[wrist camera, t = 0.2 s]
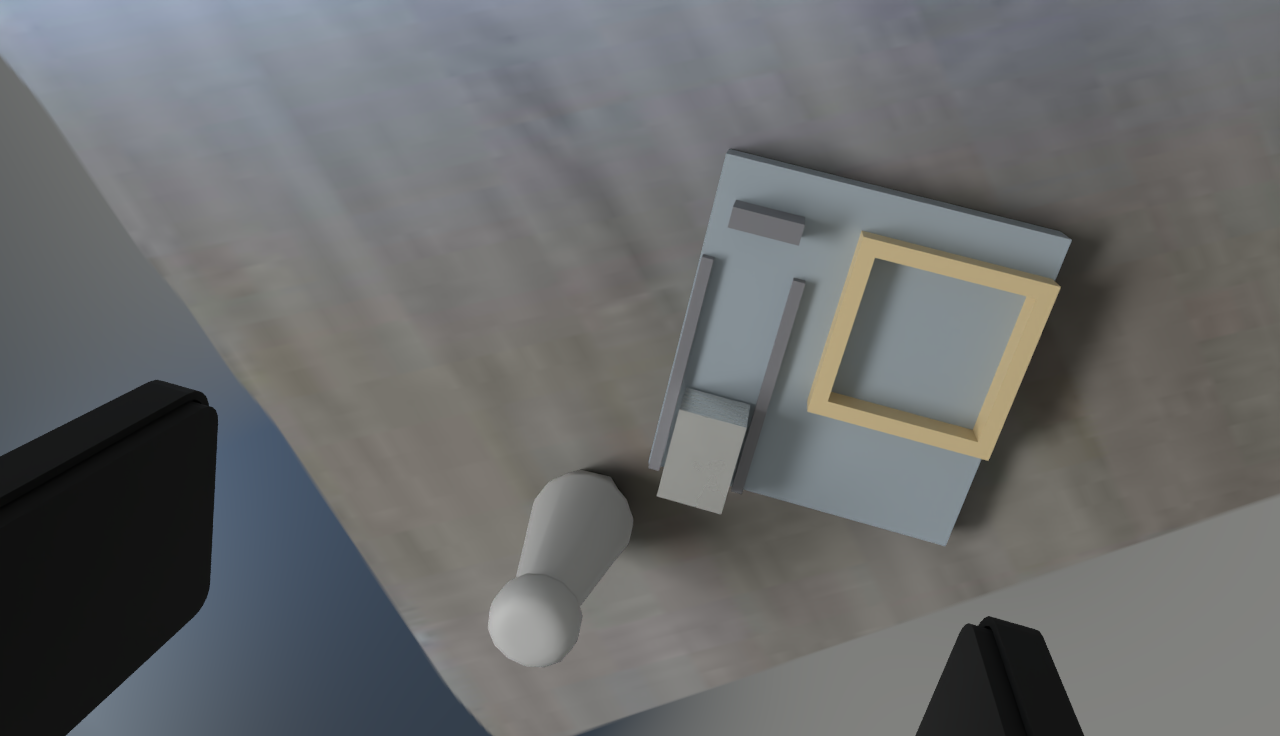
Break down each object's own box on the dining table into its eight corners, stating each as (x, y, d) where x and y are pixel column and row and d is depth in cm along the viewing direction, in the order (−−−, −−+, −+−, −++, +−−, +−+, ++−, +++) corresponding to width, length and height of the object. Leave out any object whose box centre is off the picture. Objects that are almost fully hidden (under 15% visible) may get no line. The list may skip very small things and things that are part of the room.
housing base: (729, 148, 44) (722, 158, 40) (1060, 231, 43) (1084, 249, 39) (653, 447, 50) (642, 479, 47) (940, 527, 49) (951, 566, 45)
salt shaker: (610, 441, 51) (550, 565, 39) (657, 523, 52) (613, 667, 40) (525, 478, 53) (443, 608, 40) (573, 556, 54) (507, 704, 42)
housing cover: (686, 387, 46) (679, 409, 44) (750, 404, 46) (746, 427, 43) (665, 470, 48) (656, 496, 45) (725, 487, 48) (721, 514, 45)
